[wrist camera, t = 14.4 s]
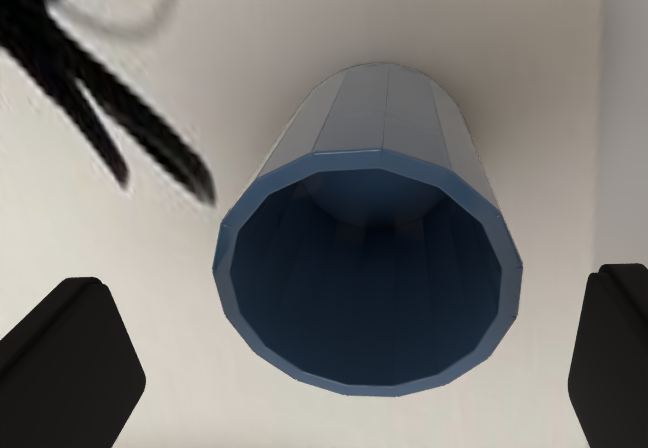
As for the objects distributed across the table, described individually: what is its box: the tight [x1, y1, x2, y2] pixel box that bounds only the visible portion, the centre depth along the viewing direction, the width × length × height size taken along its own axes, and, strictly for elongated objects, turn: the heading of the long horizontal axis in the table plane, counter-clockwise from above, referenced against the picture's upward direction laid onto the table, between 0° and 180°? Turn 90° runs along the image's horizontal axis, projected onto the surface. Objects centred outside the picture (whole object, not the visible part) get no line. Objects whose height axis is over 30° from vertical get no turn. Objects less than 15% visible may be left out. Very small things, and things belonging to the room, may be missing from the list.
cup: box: [212, 63, 523, 397], centre depth 13 cm, size 6×6×8 cm
